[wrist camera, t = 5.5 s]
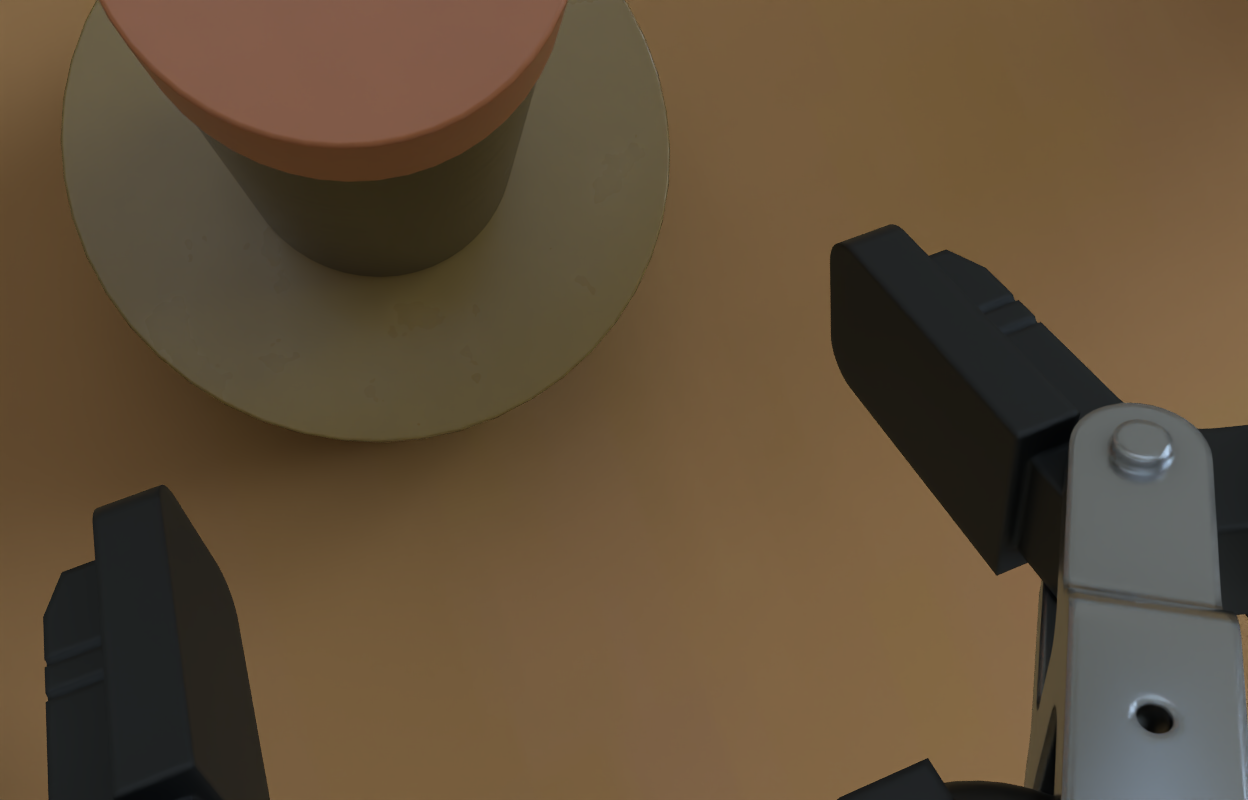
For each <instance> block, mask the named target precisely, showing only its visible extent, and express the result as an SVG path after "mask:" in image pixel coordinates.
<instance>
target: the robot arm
mask: <svg viewBox="0 0 1248 800" xmlns="http://www.w3.org/2000/svg"><path fill="white" fill-rule="evenodd" d="M830 288H831V341H832V347H833V352H834V355H835V359H836V361H837V364H838V367H839V369H840V371H841V373H842V375H843V377H844V379H845V381H846V382H847V384H848V385H849V387H850V388H851V389H852V391H853V392H854V393H855V394H856V396H857V397H858V398H859V400H860V401H861V402H862V403H863V405H864V406H865V407H866V409H867V410H868V411H869V412H870V414H871V415H872V416H873V418H874V419H875V420H876V421H877V423H878V424H879V425H880V427H881V428H882V429H883V430H884V432H885V433H886V434H887V436H888V437H889V438H890V439H891V441H892V442H893V443H894V444H895V446H896V447H897V448H898V450H899V451H900V452H901V453H902V455H903V456H904V457H905V459H906V460H907V461H908V462H909V464H910V465H911V466H912V468H913V469H914V470H915V471H916V473H917V474H918V475H919V477H920V478H921V479H922V480H923V482H924V483H925V484H926V486H927V487H928V488H929V489H930V491H931V492H932V493H933V494H934V496H935V497H936V498H937V500H938V501H939V502H940V503H941V505H942V506H943V507H944V509H945V510H946V511H947V512H948V514H949V515H950V516H951V518H952V519H953V520H954V521H955V523H956V524H957V525H958V527H959V528H960V529H961V530H962V532H963V533H964V534H965V536H966V537H967V538H968V539H969V541H970V542H971V543H972V544H973V546H974V547H975V548H976V550H977V551H978V552H979V553H980V555H981V556H982V557H983V559H984V560H985V561H986V562H987V564H988V565H989V566H990V568H991V569H992V570H993V571H994V573H995V574H996V575H999V574H1002V573H1004V572H1006V571H1009V570H1011V569H1014V568H1016V567H1018V566H1021V565H1023V564H1025V563H1029V564H1030V566H1031V567H1032V568H1033V569H1034V571H1035V572H1036V573H1037V574H1038V575H1039V577H1040V578H1041V579H1042V581H1041V586H1040V591H1039V603H1038V620H1037V637H1036V654H1035V671H1034V687H1033V704H1032V721H1031V733H1030V742H1029V750H1028V757H1027V764H1026V772H1025V781H1024V787H1022V786H1017V785H1012V784H1007V783H999V782H988V781H954V782H947V783H943V781H942V779H941V778H940V776H939V775H938V773H937V772H936V770H935V768H934V767H933V765H932V764H931V762H930V761H929V759H928V758H927V759H925V760H923V761H920V762H918V763H916V764H914V765H911V766H909V767H907V768H905V769H902V770H900V771H898V772H896V773H893V774H891V775H889V776H887V777H884V778H882V779H880V780H878V781H876V782H873V783H871V784H869V785H867V786H864V787H862V788H860V789H858V790H855V791H853V792H851V793H849V794H846V795H844V796H842V797H840V798H839V799H837V800H1248V724H1247V710H1246V697H1245V683H1244V669H1243V655H1242V642H1241V632H1240V626H1239V622H1238V618H1237V616H1236V615H1240V614H1245V615H1246V616H1247V617H1248V425H1243V426H1233V427H1224V428H1212V429H1197V428H1196V427H1195V426H1194V425H1192V424H1191V423H1190V422H1188V421H1187V420H1186V419H1184V418H1182V417H1180V416H1179V415H1177V414H1175V413H1173V412H1170V411H1168V410H1166V409H1163V408H1159V407H1156V406H1152V405H1147V404H1140V403H1123V402H1122V401H1121V400H1120V399H1119V398H1118V397H1117V396H1116V395H1115V394H1114V393H1113V392H1111V391H1110V390H1109V389H1108V388H1107V387H1106V386H1105V385H1104V384H1103V383H1102V382H1101V381H1100V380H1099V379H1098V378H1097V377H1096V376H1095V375H1094V374H1093V373H1092V372H1091V371H1090V370H1089V369H1088V368H1087V367H1086V366H1085V365H1084V364H1083V363H1082V362H1081V361H1080V360H1079V359H1078V358H1077V357H1076V356H1075V355H1074V354H1073V353H1072V352H1071V351H1070V350H1069V349H1068V348H1067V347H1066V346H1065V345H1064V344H1063V343H1062V342H1061V341H1060V340H1059V339H1058V338H1057V337H1056V336H1055V335H1053V334H1052V333H1051V332H1050V331H1049V330H1048V329H1047V328H1046V327H1045V326H1044V325H1043V324H1042V323H1041V322H1040V323H1037V321H1036V319H1035V316H1034V315H1033V314H1032V313H1031V312H1030V311H1029V310H1028V309H1027V308H1026V307H1025V306H1024V305H1023V304H1022V303H1021V302H1020V301H1019V300H1018V301H1015V300H1014V297H1013V294H1012V293H1011V292H1010V291H1009V290H1008V289H1007V288H1006V287H1005V286H1004V285H1003V284H1002V283H1001V282H1000V281H999V280H998V279H997V278H995V277H994V276H993V275H992V274H991V273H990V272H989V271H988V270H987V269H986V268H985V267H983V266H980V265H978V264H976V263H974V262H972V261H970V260H968V259H965V258H963V257H961V256H959V255H957V254H955V253H953V252H950V251H948V250H944V251H941V252H938V253H936V254H933V255H930V256H928V255H927V254H926V253H925V252H924V251H923V250H922V249H921V248H920V247H919V246H918V245H917V244H916V243H915V242H914V240H913V239H912V238H911V237H910V236H909V235H908V234H907V233H906V232H905V231H904V230H903V229H901V228H900V227H899V226H897V225H894V224H890V225H887V226H884V227H882V228H879V229H876V230H873V231H871V232H868V233H865V234H862V235H859V236H857V237H854V238H851V239H848V240H846V241H843V242H840V243H837V244H835V245H834V246H833V248H832V250H831V255H830ZM93 534H94V547H95V560H94V561H91V562H89V563H86V564H83V565H80V566H78V567H75V568H72V569H70V570H67V571H64V572H62V573H61V576H60V578H59V581H58V583H57V585H56V588H55V590H54V592H53V595H52V597H51V600H50V602H49V604H48V607H47V609H46V612H45V614H44V616H43V625H44V659H45V661H46V663H47V667H45V693H46V695H47V697H48V701H47V702H46V727H47V761H48V795H49V800H270V798H269V792H268V786H267V781H266V775H265V769H264V764H263V758H262V752H261V747H260V741H259V736H258V730H257V724H256V719H255V713H254V707H253V702H252V696H251V690H250V685H249V679H248V673H247V668H246V662H245V657H244V651H243V645H242V640H241V634H240V628H239V623H238V618H237V613H236V609H235V606H234V602H233V599H232V596H231V593H230V591H229V588H228V585H227V583H226V581H225V578H224V576H223V574H222V572H221V570H220V568H219V566H218V565H217V563H216V561H215V560H214V558H213V557H212V555H211V554H210V552H209V550H208V549H207V547H206V546H205V544H204V542H203V541H202V539H201V538H200V536H199V535H198V533H197V531H196V530H195V528H194V527H193V525H192V523H191V522H190V520H189V519H188V517H187V516H186V514H185V512H184V511H183V509H182V508H181V506H180V504H179V503H178V501H177V500H176V498H175V497H174V495H173V494H172V492H171V491H170V490H169V488H168V487H166V486H165V485H160V486H157V487H154V488H151V489H149V490H146V491H143V492H140V493H138V494H135V495H132V496H129V497H126V498H124V499H121V500H118V501H115V502H113V503H110V504H107V505H104V506H101V507H99V508H96V509H95V510H94V513H93Z"/></svg>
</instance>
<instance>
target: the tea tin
mask: <svg viewBox="0 0 1248 800" xmlns="http://www.w3.org/2000/svg"><path fill="white" fill-rule="evenodd" d="M99 2H100V4H101V5H102V7H103V9H104V11H105V13H106V15H107V17H108V19H109V20H110V22H111V23H112V24H113V26H114V27H115V29H116V30H117V32H118V33H119V34H120V36H121V37H122V39H123V40H124V41H125V43H126V44H127V46H128V47H129V48H130V50H131V51H132V52H133V54H134V55H135V56H136V58H137V59H138V60H139V62H140V63H141V64H142V66H143V67H144V68H145V70H146V71H147V72H148V74H149V75H150V76H151V78H152V79H153V80H154V82H155V83H156V84H157V86H158V87H159V88H160V90H161V91H162V92H163V93H164V94H165V95H166V96H167V97H168V99H169V100H170V101H171V102H172V103H173V104H174V105H175V106H176V107H177V108H178V109H179V111H180V112H181V113H182V114H183V115H185V116H186V117H187V118H188V119H189V120H191V121H192V122H193V123H194V124H195V125H196V126H197V127H198V128H199V130H200V131H201V133H202V134H203V135H204V137H205V138H206V140H207V141H208V142H209V144H210V145H211V146H212V148H213V149H214V151H215V152H216V153H217V155H218V156H219V157H220V159H221V160H222V162H223V163H224V164H225V166H226V167H227V169H228V170H229V171H230V173H231V174H232V175H233V177H234V178H235V180H236V181H237V182H238V184H239V185H240V186H241V188H242V189H243V191H244V192H245V193H246V195H247V196H248V198H249V199H250V200H251V202H252V203H253V204H254V206H255V207H256V209H257V210H258V211H259V213H260V214H261V215H262V217H263V218H264V220H265V221H266V222H267V224H268V225H269V226H270V227H271V228H272V229H273V230H274V231H275V232H276V234H277V235H278V236H279V237H280V238H281V239H283V240H284V241H285V242H286V243H287V244H289V245H290V246H291V247H292V248H293V249H295V250H296V251H298V252H299V253H301V254H303V255H304V256H306V257H307V258H309V259H311V260H313V261H315V262H317V263H319V264H321V265H323V266H326V267H328V268H331V269H334V270H337V271H341V272H344V273H349V274H354V275H359V276H371V277H388V276H400V275H405V274H410V273H415V272H418V271H421V270H424V269H427V268H430V267H433V266H435V265H437V264H439V263H441V262H443V261H445V260H447V259H449V258H450V257H452V256H453V255H455V254H456V253H458V252H459V251H461V250H462V249H464V248H465V247H466V246H467V245H468V244H469V243H470V242H472V241H473V240H474V239H475V238H476V237H477V236H478V235H479V233H480V232H481V231H482V230H483V229H484V228H485V227H486V225H487V224H488V223H489V221H490V220H491V218H492V216H493V215H494V213H495V212H496V210H497V208H498V206H499V204H500V202H501V200H502V198H503V196H504V193H505V190H506V187H507V184H508V181H509V177H510V174H511V170H512V167H513V163H514V160H515V156H516V153H517V149H518V146H519V142H520V139H521V135H522V132H523V128H524V125H525V121H526V118H527V114H528V110H529V107H530V103H531V100H532V96H533V93H534V89H535V86H536V82H537V80H538V79H539V77H540V75H541V73H542V71H543V69H544V67H545V65H546V63H547V61H548V59H549V57H550V55H551V53H552V50H553V47H554V44H555V41H556V38H557V35H558V32H559V28H560V25H561V22H562V19H563V15H564V12H565V9H566V6H567V2H568V0H99Z"/></svg>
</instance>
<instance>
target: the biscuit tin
mask: <svg viewBox="0 0 1248 800" xmlns="http://www.w3.org/2000/svg"><path fill="white" fill-rule="evenodd" d="M61 148H62V161H63V174H64V182H65V186H66V191H67V196H68V200H69V205H70V209H71V214H72V219H73V221H74V224H75V227H76V229H77V232H78V235H79V238H80V240H81V243H82V246H83V248H84V251H85V254H86V257H87V259H88V260H89V262H90V264H91V266H92V268H93V270H94V272H95V274H96V275H97V277H98V279H99V281H100V283H101V285H102V287H103V289H104V291H105V292H106V294H107V295H108V297H109V298H110V300H111V301H112V302H113V304H114V305H115V307H116V308H117V309H118V311H119V312H120V313H121V315H122V316H123V318H124V319H125V320H126V322H127V323H128V325H129V326H130V327H131V328H132V329H133V330H134V331H135V333H136V334H137V335H138V336H139V337H140V338H141V339H142V340H143V341H144V342H145V343H146V344H147V345H148V346H149V347H150V348H151V350H152V351H153V352H154V353H155V354H156V355H157V356H158V357H159V358H160V359H162V360H163V361H164V362H165V363H167V364H168V365H169V366H170V367H172V368H173V369H174V370H175V371H176V372H178V373H179V374H180V375H181V376H183V377H184V378H185V379H186V380H187V381H189V382H190V383H191V384H193V385H195V386H196V387H198V388H199V389H201V390H203V391H204V392H206V393H208V394H209V395H211V396H212V397H214V398H216V399H217V400H219V401H220V402H222V403H224V404H225V405H227V406H230V407H232V408H234V409H236V410H238V411H241V412H243V413H245V414H247V415H250V416H252V417H254V418H256V419H258V420H261V421H263V422H266V423H269V424H272V425H276V426H279V427H282V428H285V429H289V430H292V431H295V432H299V433H302V434H307V435H313V436H319V437H325V438H331V439H337V440H343V441H361V442H396V441H407V440H419V439H426V438H430V437H435V436H439V435H444V434H448V433H453V432H458V431H461V430H464V429H467V428H470V427H472V426H475V425H478V424H481V423H483V422H486V421H489V420H492V419H495V418H497V417H499V416H500V415H502V414H504V413H506V412H508V411H510V410H512V409H514V408H516V407H518V406H520V405H522V404H524V403H526V402H528V401H530V400H532V399H533V398H535V397H536V396H537V395H539V394H540V393H542V392H543V391H545V390H546V389H547V388H549V387H550V386H552V385H553V384H555V383H556V382H558V381H559V380H560V379H562V378H563V377H564V376H566V375H567V374H568V373H569V372H570V371H571V370H572V369H573V368H574V367H575V366H576V365H578V364H579V363H580V362H581V361H582V360H583V359H584V358H585V357H586V356H587V355H589V354H590V353H591V352H592V351H593V349H594V348H595V347H596V346H597V345H598V343H599V342H600V341H601V340H602V339H603V338H604V336H605V335H606V334H607V333H608V332H609V330H610V329H611V328H612V327H613V326H614V324H615V323H616V322H617V320H618V319H619V317H620V315H621V314H622V312H623V311H624V309H625V308H626V306H627V304H628V303H629V301H630V300H631V298H632V297H633V295H634V293H635V292H636V290H637V288H638V285H639V283H640V281H641V279H642V277H643V275H644V272H645V270H646V268H647V266H648V264H649V262H650V260H651V257H652V254H653V251H654V248H655V244H656V241H657V238H658V235H659V231H660V228H661V225H662V221H663V215H664V210H665V204H666V198H667V192H668V186H669V162H670V143H669V132H668V121H667V111H666V107H665V102H664V98H663V93H662V89H661V84H660V80H659V75H658V72H657V70H656V67H655V64H654V61H653V59H652V56H651V53H650V50H649V47H648V45H647V42H646V39H645V37H644V35H643V33H642V31H641V29H640V28H639V26H638V24H637V22H636V20H635V18H634V16H633V14H632V12H631V10H630V8H629V6H628V4H627V3H626V2H625V0H568V2H567V6H566V9H565V12H564V15H563V19H562V22H561V25H560V28H559V32H558V35H557V38H556V41H555V44H554V47H553V50H552V53H551V55H550V57H549V59H548V61H547V63H546V65H545V67H544V69H543V71H542V73H541V75H540V77H539V79H538V80H537V82H536V86H535V89H534V93H533V96H532V100H531V103H530V107H529V110H528V114H527V118H526V121H525V125H524V128H523V132H522V135H521V139H520V142H519V146H518V149H517V153H516V156H515V160H514V163H513V167H512V170H511V174H510V177H509V181H508V184H507V187H506V190H505V193H504V196H503V198H502V200H501V202H500V204H499V206H498V208H497V210H496V212H495V213H494V215H493V216H492V218H491V220H490V221H489V223H488V224H487V225H486V227H485V228H484V229H483V230H482V231H481V232H480V233H479V235H478V236H477V237H476V238H475V239H474V240H473V241H472V242H470V243H469V244H468V245H467V246H466V247H465V248H464V249H462V250H461V251H459V252H458V253H456V254H455V255H453V256H452V257H450V258H449V259H447V260H445V261H443V262H441V263H439V264H437V265H435V266H433V267H430V268H427V269H424V270H421V271H418V272H415V273H410V274H405V275H400V276H388V277H371V276H359V275H354V274H349V273H344V272H341V271H337V270H334V269H331V268H328V267H326V266H323V265H321V264H319V263H317V262H315V261H313V260H311V259H309V258H307V257H306V256H304V255H303V254H301V253H299V252H298V251H296V250H295V249H293V248H292V247H291V246H290V245H289V244H287V243H286V242H285V241H284V240H283V239H281V238H280V237H279V236H278V235H277V234H276V232H275V231H274V230H273V229H272V228H271V227H270V226H269V225H268V224H267V222H266V221H265V220H264V218H263V217H262V215H261V214H260V213H259V211H258V210H257V209H256V207H255V206H254V204H253V203H252V202H251V200H250V199H249V198H248V196H247V195H246V193H245V192H244V191H243V189H242V188H241V186H240V185H239V184H238V182H237V181H236V180H235V178H234V177H233V175H232V174H231V173H230V171H229V170H228V169H227V167H226V166H225V164H224V163H223V162H222V160H221V159H220V157H219V156H218V155H217V153H216V152H215V151H214V149H213V148H212V146H211V145H210V144H209V142H208V141H207V140H206V138H205V137H204V135H203V134H202V133H201V131H200V130H199V128H198V127H197V126H196V125H195V124H194V123H193V122H192V121H191V120H189V119H188V118H187V117H186V116H185V115H183V114H182V113H181V112H180V111H179V109H178V108H177V107H176V106H175V105H174V104H173V103H172V102H171V101H170V100H169V99H168V97H167V96H166V95H165V94H164V93H163V92H162V91H161V90H160V88H159V87H158V86H157V84H156V83H155V82H154V80H153V79H152V78H151V76H150V75H149V74H148V72H147V71H146V70H145V68H144V67H143V66H142V64H141V63H140V62H139V60H138V59H137V58H136V56H135V55H134V54H133V52H132V51H131V50H130V48H129V47H128V46H127V44H126V43H125V41H124V40H123V39H122V37H121V36H120V34H119V33H118V32H117V30H116V29H115V27H114V26H113V24H112V23H111V22H110V20H109V19H108V17H107V15H106V13H105V11H104V9H103V7H102V5H101V4H100V2H99V0H97V1H96V3H95V4H94V6H93V8H92V10H91V12H90V14H89V16H88V18H87V19H86V21H85V24H84V26H83V29H82V32H81V35H80V38H79V40H78V43H77V46H76V49H75V51H74V54H73V57H72V60H71V64H70V69H69V74H68V79H67V84H66V88H65V93H64V98H63V112H62V128H61Z"/></svg>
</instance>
